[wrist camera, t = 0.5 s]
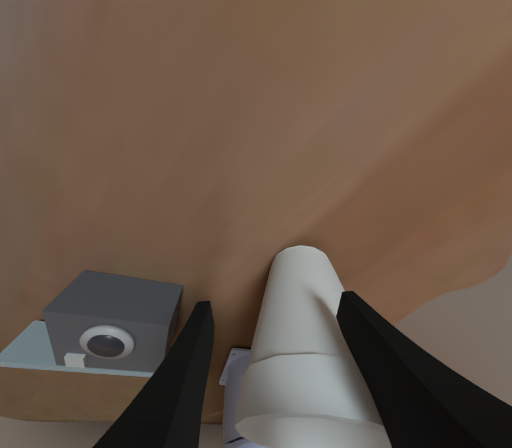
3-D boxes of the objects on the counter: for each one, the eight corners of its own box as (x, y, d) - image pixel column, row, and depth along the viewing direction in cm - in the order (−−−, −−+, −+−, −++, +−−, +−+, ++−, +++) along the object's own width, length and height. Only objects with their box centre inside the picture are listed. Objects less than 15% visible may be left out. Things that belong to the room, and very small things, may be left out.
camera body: (175, 330, 26) (159, 381, 21) (90, 320, 24) (50, 373, 19) (183, 285, 22) (166, 332, 17) (84, 270, 21) (34, 318, 16)
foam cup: (294, 304, 25) (303, 461, 15) (240, 264, 22) (202, 424, 12) (364, 271, 21) (451, 460, 10) (309, 216, 18) (351, 401, 7)
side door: (172, 339, 26) (160, 377, 22) (35, 324, 23) (-7, 366, 19) (173, 335, 26) (161, 373, 22) (34, 320, 23) (-9, 361, 19)
